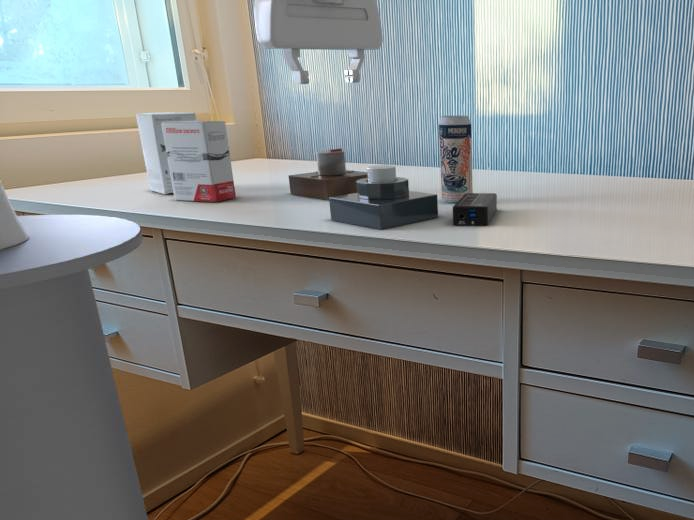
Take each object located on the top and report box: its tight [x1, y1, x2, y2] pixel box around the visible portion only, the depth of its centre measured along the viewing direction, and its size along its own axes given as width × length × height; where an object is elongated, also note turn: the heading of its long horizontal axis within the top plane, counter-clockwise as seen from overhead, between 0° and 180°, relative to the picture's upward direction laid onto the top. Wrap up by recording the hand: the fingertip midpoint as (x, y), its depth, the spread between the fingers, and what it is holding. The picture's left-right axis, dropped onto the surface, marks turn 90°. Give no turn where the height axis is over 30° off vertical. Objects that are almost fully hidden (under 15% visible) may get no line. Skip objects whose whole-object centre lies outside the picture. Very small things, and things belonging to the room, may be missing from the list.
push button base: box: [328, 176, 439, 230], centre depth 89 cm, size 10×10×5 cm
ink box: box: [161, 120, 237, 203], centre depth 106 cm, size 8×5×12 cm, turn 68°
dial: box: [315, 148, 347, 176], centre depth 110 cm, size 4×4×4 cm
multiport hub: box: [452, 192, 498, 226], centre depth 90 cm, size 4×11×2 cm, turn 172°
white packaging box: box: [135, 111, 197, 195], centre depth 116 cm, size 7×7×13 cm
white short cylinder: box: [366, 164, 397, 182], centre depth 88 cm, size 4×4×2 cm
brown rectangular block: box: [288, 169, 368, 201], centre depth 112 cm, size 10×10×3 cm
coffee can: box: [438, 115, 474, 204], centre depth 100 cm, size 5×5×12 cm
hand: (328, 83), depth 102 cm, fingers open, 8 cm apart
